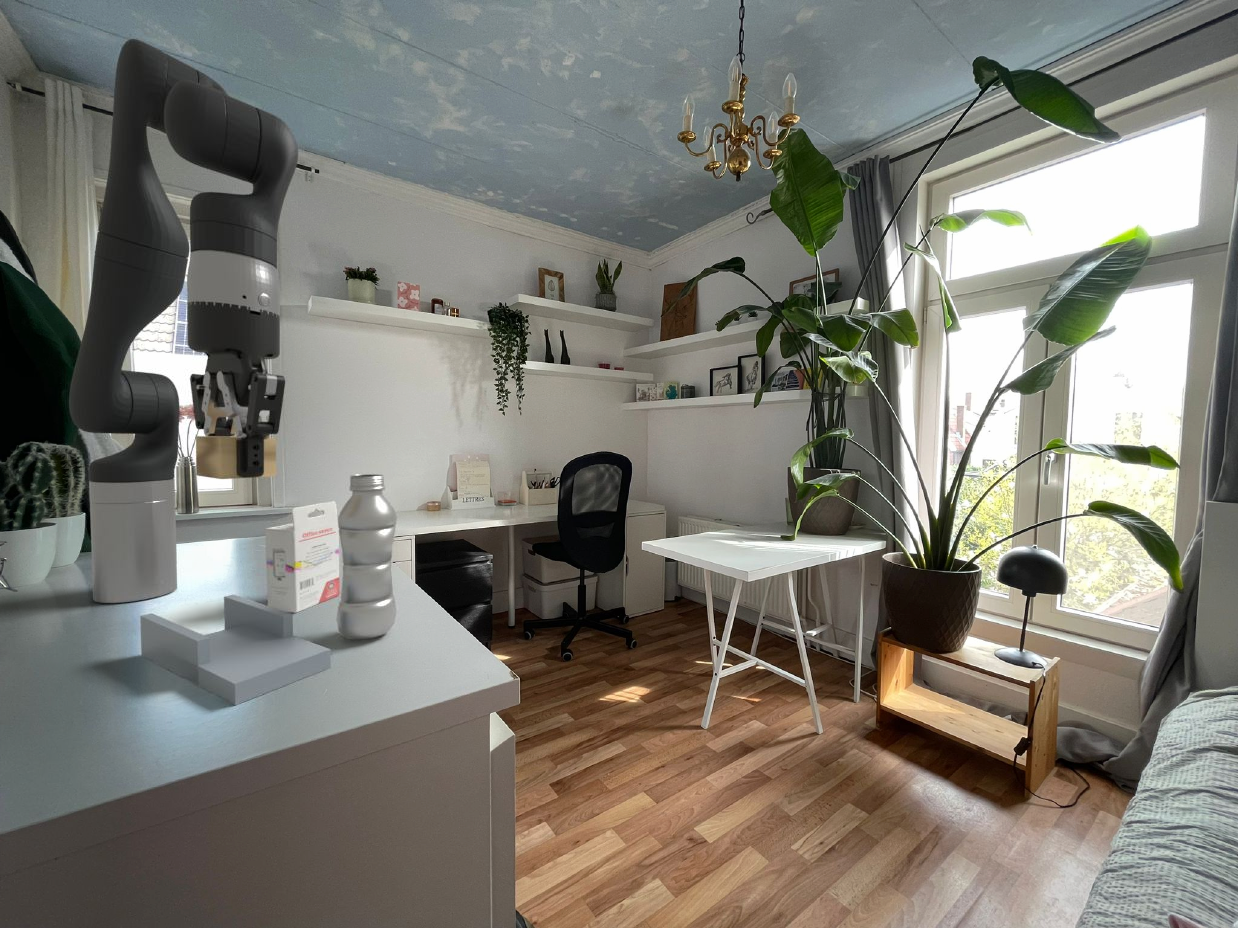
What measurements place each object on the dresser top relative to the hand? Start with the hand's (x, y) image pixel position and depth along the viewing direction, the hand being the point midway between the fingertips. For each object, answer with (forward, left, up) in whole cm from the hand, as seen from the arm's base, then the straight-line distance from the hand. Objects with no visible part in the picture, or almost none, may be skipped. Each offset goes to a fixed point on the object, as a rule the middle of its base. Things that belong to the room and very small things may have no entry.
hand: (236, 473), depth 53 cm
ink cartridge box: (-15, +16, -21) cm, 30 cm away
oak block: (0, 0, 0) cm, 0 cm away
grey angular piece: (-2, +1, -21) cm, 21 cm away
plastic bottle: (+3, +13, -21) cm, 25 cm away
